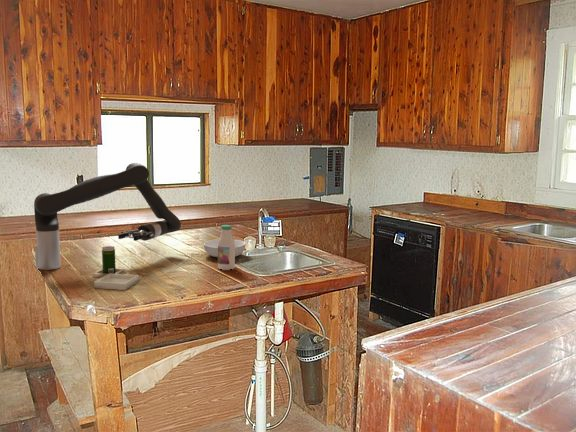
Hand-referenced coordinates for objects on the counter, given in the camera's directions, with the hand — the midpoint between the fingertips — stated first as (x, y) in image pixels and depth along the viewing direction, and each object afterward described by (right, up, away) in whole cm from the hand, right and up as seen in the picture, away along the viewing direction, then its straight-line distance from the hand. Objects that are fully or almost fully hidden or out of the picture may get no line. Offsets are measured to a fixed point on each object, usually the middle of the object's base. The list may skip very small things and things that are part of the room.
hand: (126, 237), depth 243 cm
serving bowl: (+40, -11, +30) cm, 52 cm away
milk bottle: (+44, -15, +7) cm, 47 cm away
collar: (-5, -16, -8) cm, 18 cm away
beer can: (-5, -16, -8) cm, 18 cm away
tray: (+3, -18, -22) cm, 29 cm away
